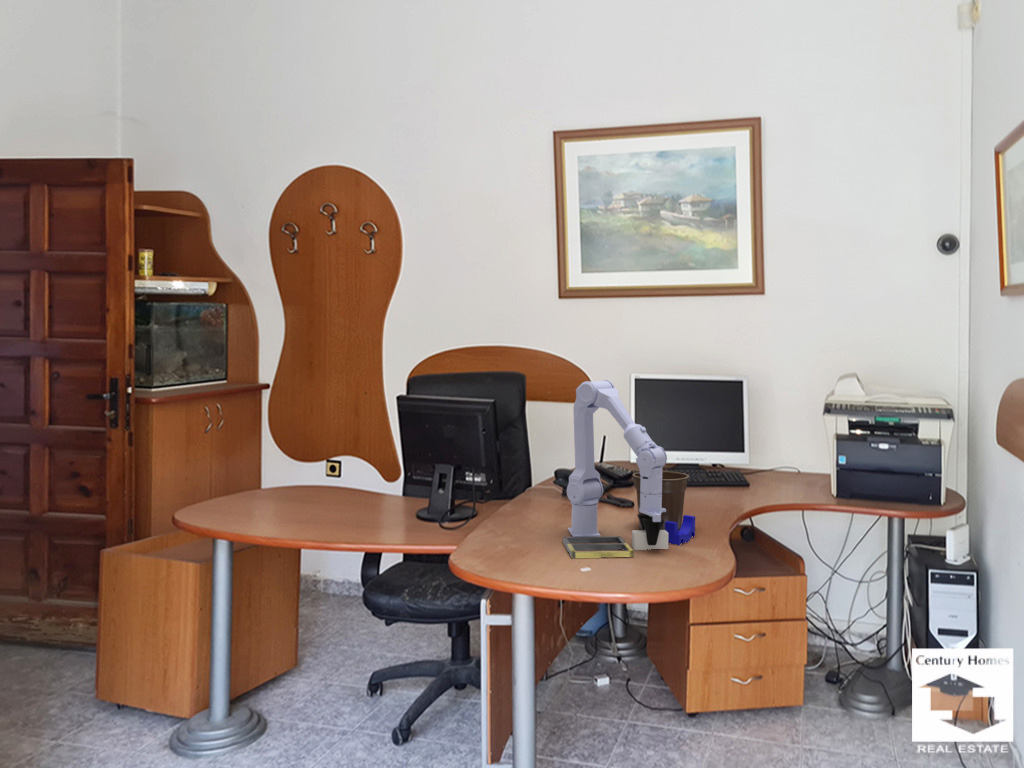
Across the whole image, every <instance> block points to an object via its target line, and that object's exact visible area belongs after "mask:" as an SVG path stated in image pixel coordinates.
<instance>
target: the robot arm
mask: <svg viewBox="0 0 1024 768" xmlns="http://www.w3.org/2000/svg"><path fill="white" fill-rule="evenodd" d="M575 397H576V398H575V401H574V403H573V410H572V411H573V434H574V435H573V438H574V439H573V440H574V468H575V469H574V470H573V471H572V472H571V474H570V475H569V476H568V484H567V487H566V496H567V499H568V500H569V501H570V504H571V527H567V530H568V531H569V533H570V535H571V537H601V534H600V532H599V531H598V503H599V502H600V498H601V497H603V494H604V487H603V486H604V485H603V483H602V481H601V474H600V472H598V470H597V469H596V468H595V467H596V466H595V443H594V442H595V440H594V439H595V437H594V434H595V433H594V414H595V412H596V411H598V409H600V408H602V409H605V410H607V411H608V412H609V413H610V415H611V416H612V417H613V419H615V421H616V422H617V423H618V425H619V426H620V427H621V429H623V438H624V440H625V442H627V445H629V447H630V449H631V450H632V452H633V453H634V454H635V455H636V458H635V462H636V466H637V467H638V469H639V472H640V475H641V478H640V508H639V512H641V513H643V514H637V519H638V521H639V520H640V523H641V526H642V530H646V537H647V543H648V545H656V543H657V540H658V535H659V532H660V529H661V527H662V525H663V523H664V520H663V519H661V514H662V512H666V509H665V508H662V471H663V467H664V466H665V465H666V464H667V462H668V455H667V453H666V451H665V449H664V447H662V446H659V445H657V444H656V442H655V441H653V439H652V438H651V437H650V436H649V434H648V433H647V428H646V427H645V426H642V424H638V423H635V421H634V419H633V418H632V416H631V415H630V414H629V412H628V410H627V408H626V406H625V405H624V403H623V402H622V400H621V398H620V396H619V390H618V389H617V388H616V387H615V385H614V384H613V382H612V381H610V380H607V379H604V380H595V381H589V380H586V381H583V382H581V383H580V385H578V387H577V388H575Z"/></svg>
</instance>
